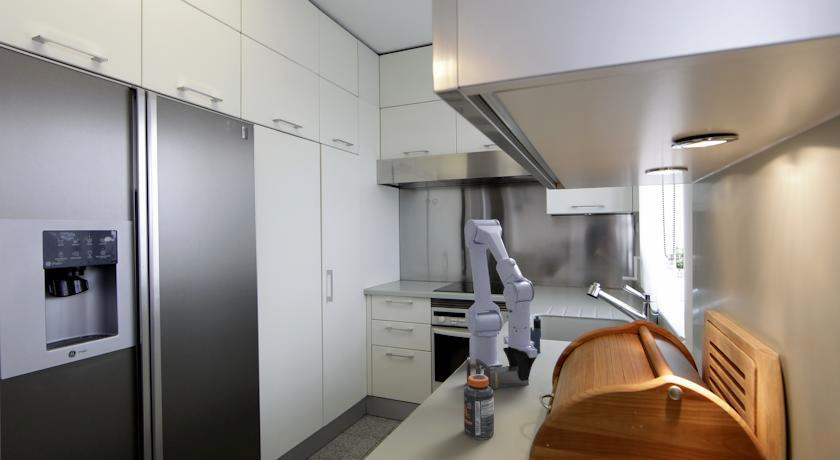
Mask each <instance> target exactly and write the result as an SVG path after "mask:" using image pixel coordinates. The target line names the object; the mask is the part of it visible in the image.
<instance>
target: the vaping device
mask: <svg viewBox="0 0 840 460" xmlns="http://www.w3.org/2000/svg"><path fill="white" fill-rule="evenodd" d="M541 337H542V319H541V318H540V317H539V315H535V318H533V326H532V327H531V326H530V341H532V342H534V345H533V347H534V348H535V349H537V354H541Z"/></svg>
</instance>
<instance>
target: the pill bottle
mask: <svg viewBox="0 0 840 460" xmlns="http://www.w3.org/2000/svg"><path fill="white" fill-rule="evenodd" d="M488 384H489V382H488V377H487V376H485V375H484V374H482V373H481V374H476V373H475V374H471V375H470V376H469V377H468V384H467V386H465V387H464V389H463V431H464V433H465V435H466V436H467V437H469V438H471V439H475V440H480V441H481V440H487V439H490V438H492V437H493V436H494V434H495V415H494V413H495V412H494V411H495V409H494V408H495V407H494V406H495V405H494V389H492V388H491V387H489V386H488Z"/></svg>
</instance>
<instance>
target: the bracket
mask: <svg viewBox="0 0 840 460" xmlns="http://www.w3.org/2000/svg"><path fill="white" fill-rule="evenodd" d="M476 365H477V366H478V367H480V365H481V366H483V367H482V368H483V369H486V376H487V377H488V382H489V384H488V386H489V387H490V368H491V367H489V366H488V365H486V364H485V363H483V362H482V361H481V360H479V359H476Z"/></svg>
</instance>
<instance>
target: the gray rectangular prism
mask: <svg viewBox="0 0 840 460" xmlns="http://www.w3.org/2000/svg"><path fill="white" fill-rule="evenodd" d="M483 375H485V376H486V369H485V368H483ZM529 381H530V378H529V379H528V380H525V381H521V380H520V378H519V370H518V365H514V366H509V365H507V366H494V367H490V387H491V388H492V390H495V389H503V388H511V387H519V386H528V385H529V384H530V383H529Z"/></svg>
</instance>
